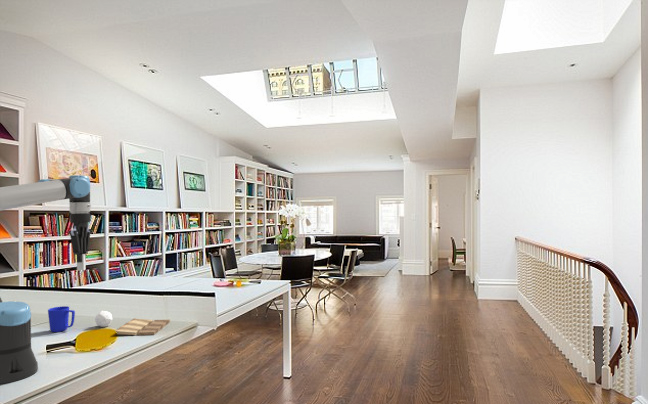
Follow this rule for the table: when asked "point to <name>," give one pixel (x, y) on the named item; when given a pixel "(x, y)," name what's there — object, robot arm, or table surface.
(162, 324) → the laid strip
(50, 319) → the mug
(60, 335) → the table surface
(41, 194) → the robot arm
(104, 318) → the ornament
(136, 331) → the plank
